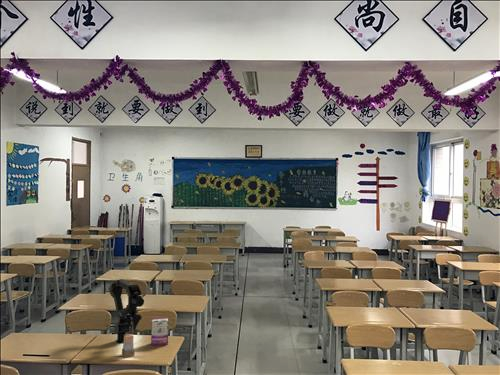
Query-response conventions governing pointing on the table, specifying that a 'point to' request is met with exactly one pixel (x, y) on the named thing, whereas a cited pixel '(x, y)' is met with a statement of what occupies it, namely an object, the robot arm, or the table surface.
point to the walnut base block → (128, 353)
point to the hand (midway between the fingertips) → (131, 327)
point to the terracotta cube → (128, 339)
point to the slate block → (128, 346)
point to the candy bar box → (159, 332)
